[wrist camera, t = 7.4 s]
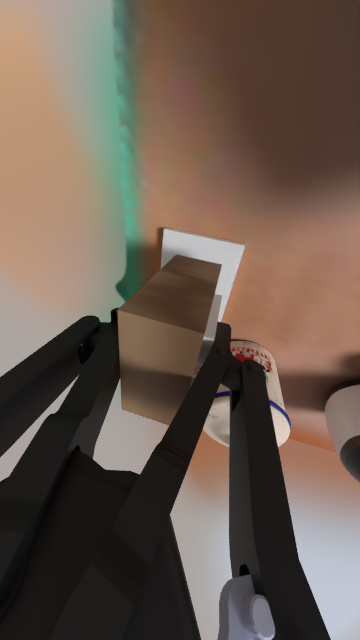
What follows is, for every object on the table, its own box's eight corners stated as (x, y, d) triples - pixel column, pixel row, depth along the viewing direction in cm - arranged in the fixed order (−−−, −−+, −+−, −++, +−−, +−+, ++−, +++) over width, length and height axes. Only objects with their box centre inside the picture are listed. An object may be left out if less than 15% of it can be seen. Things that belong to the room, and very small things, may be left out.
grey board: (167, 227, 20) (163, 228, 19) (244, 243, 19) (245, 245, 18) (159, 309, 26) (156, 313, 25) (218, 325, 25) (218, 329, 24)
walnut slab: (166, 327, 21) (121, 409, 13) (176, 254, 17) (117, 309, 9) (202, 337, 21) (178, 428, 13) (221, 264, 16) (204, 333, 8)
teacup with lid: (278, 336, 23) (303, 433, 14) (276, 388, 28) (294, 488, 18) (183, 338, 27) (153, 415, 18) (195, 383, 32) (175, 464, 22)
